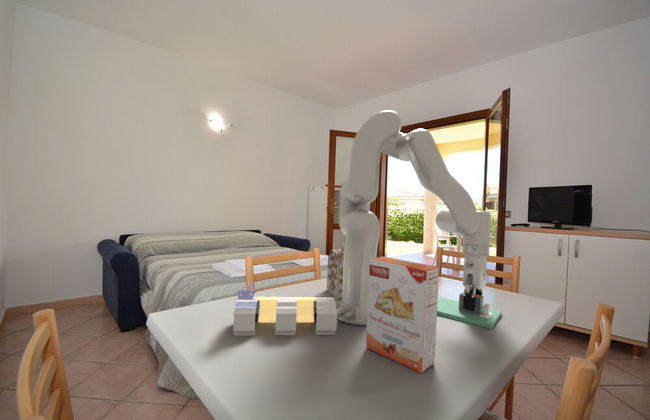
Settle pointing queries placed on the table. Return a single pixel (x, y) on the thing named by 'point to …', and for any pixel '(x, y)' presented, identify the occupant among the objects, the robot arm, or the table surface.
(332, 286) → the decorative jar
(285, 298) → the white and yellow block
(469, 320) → the board
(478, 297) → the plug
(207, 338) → the table surface
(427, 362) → the cracker box
